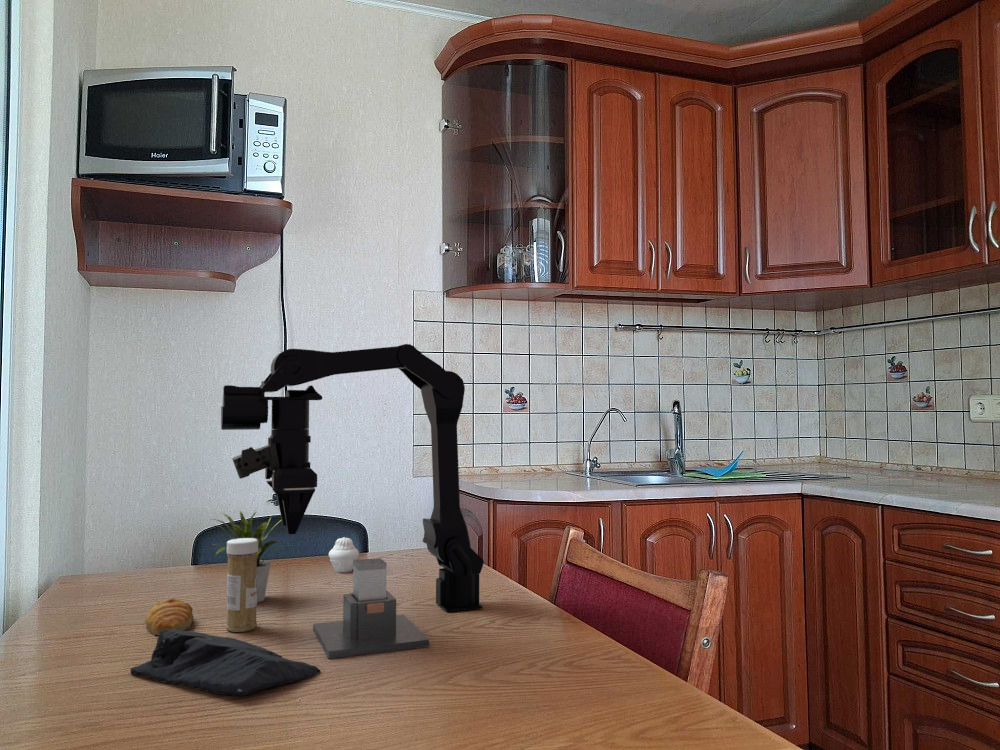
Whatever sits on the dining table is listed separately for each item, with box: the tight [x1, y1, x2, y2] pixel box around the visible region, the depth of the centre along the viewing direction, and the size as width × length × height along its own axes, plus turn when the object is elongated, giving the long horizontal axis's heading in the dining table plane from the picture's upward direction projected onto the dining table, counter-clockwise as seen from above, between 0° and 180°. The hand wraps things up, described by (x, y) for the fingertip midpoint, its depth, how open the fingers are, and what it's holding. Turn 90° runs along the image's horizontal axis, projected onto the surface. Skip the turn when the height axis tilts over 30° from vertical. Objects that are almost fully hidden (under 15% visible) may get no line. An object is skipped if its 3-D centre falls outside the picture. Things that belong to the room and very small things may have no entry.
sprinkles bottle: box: [225, 537, 258, 633], centre depth 116 cm, size 5×5×14 cm
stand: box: [312, 590, 430, 660], centre depth 111 cm, size 14×14×6 cm
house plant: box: [211, 509, 284, 603], centre depth 133 cm, size 14×14×16 cm
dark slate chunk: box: [129, 629, 321, 697], centre depth 97 cm, size 15×22×5 cm
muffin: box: [328, 536, 360, 574], centre depth 156 cm, size 6×6×7 cm
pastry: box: [144, 598, 194, 636], centre depth 116 cm, size 9×7×4 cm
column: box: [352, 557, 387, 602], centre depth 111 cm, size 4×4×10 cm
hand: (289, 529), depth 119 cm, fingers open, 9 cm apart
